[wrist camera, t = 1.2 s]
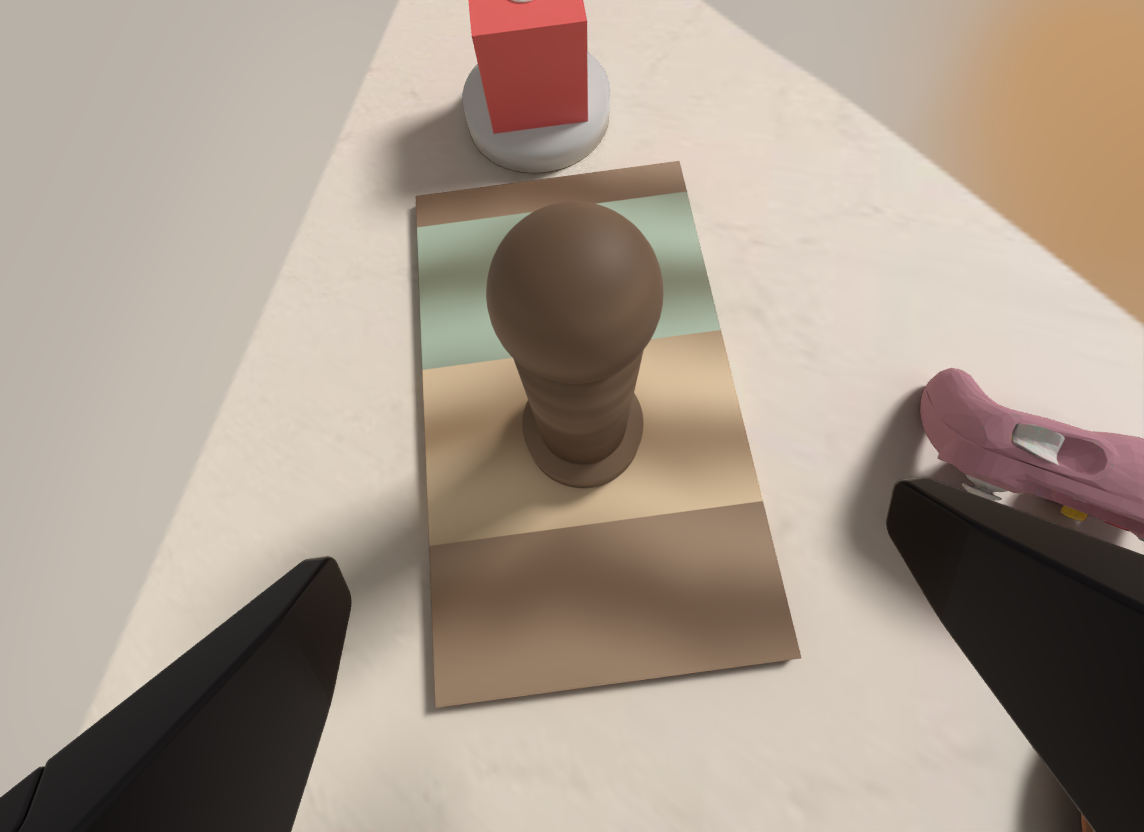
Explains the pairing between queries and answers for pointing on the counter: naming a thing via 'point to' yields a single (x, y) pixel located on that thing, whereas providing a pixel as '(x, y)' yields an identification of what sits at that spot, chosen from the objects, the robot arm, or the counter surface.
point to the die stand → (534, 85)
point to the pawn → (577, 334)
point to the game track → (587, 515)
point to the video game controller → (1034, 454)
